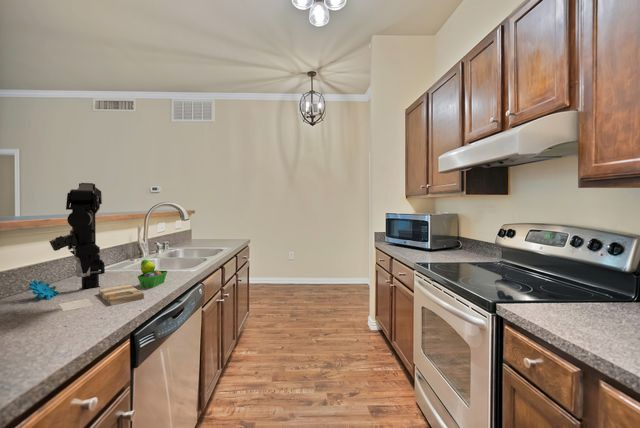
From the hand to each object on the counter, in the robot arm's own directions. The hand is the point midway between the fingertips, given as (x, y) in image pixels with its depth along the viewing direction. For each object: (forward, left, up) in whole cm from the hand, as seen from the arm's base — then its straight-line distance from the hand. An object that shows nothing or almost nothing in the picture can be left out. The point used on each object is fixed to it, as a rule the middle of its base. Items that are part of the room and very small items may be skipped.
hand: (83, 272), depth 103 cm
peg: (0, 0, -1) cm, 1 cm away
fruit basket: (-15, +26, -12) cm, 32 cm away
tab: (-1, -2, -12) cm, 12 cm away
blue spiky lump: (-19, -8, -12) cm, 24 cm away
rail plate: (-1, +11, -12) cm, 16 cm away
